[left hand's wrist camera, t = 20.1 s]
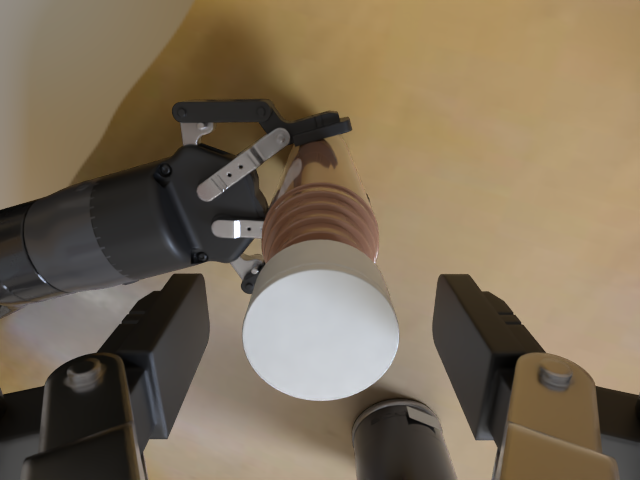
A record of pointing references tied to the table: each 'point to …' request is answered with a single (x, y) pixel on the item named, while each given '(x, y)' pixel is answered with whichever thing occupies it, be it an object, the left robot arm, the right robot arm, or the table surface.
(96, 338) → the table surface
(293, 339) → the cap
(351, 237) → the bottle
